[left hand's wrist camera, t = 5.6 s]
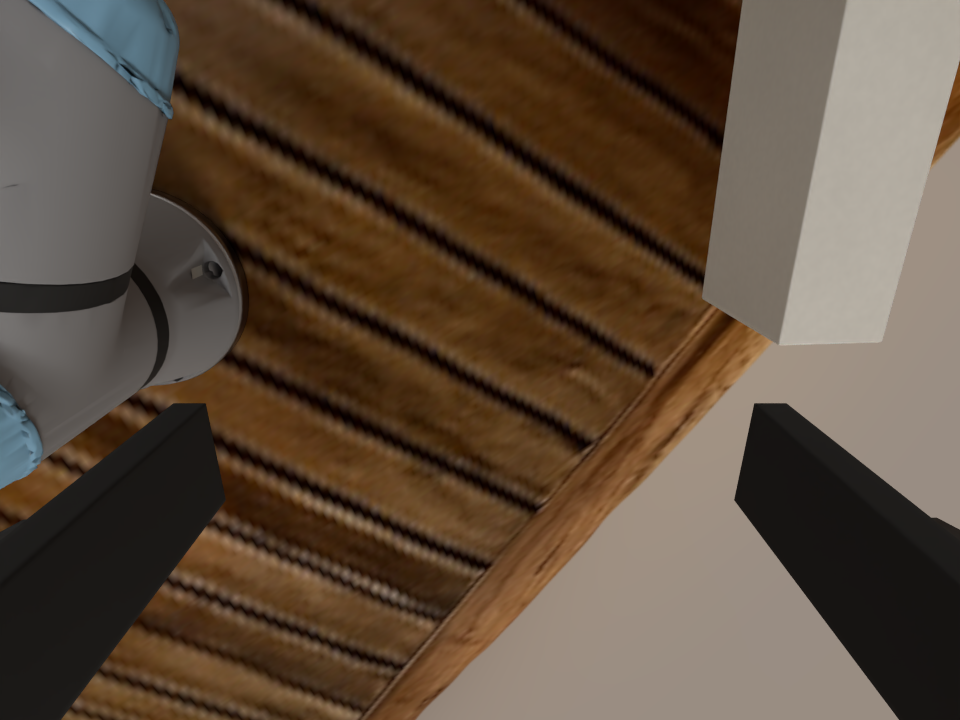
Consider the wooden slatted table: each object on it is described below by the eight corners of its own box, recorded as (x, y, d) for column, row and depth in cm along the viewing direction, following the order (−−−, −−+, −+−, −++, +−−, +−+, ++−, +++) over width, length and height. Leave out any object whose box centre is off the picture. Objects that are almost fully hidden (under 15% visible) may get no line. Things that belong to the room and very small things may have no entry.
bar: (779, 296, 32) (882, 342, 24) (701, 298, 32) (778, 345, 24) (883, -243, 23) (1102, -452, 15) (774, -242, 23) (936, -450, 15)
